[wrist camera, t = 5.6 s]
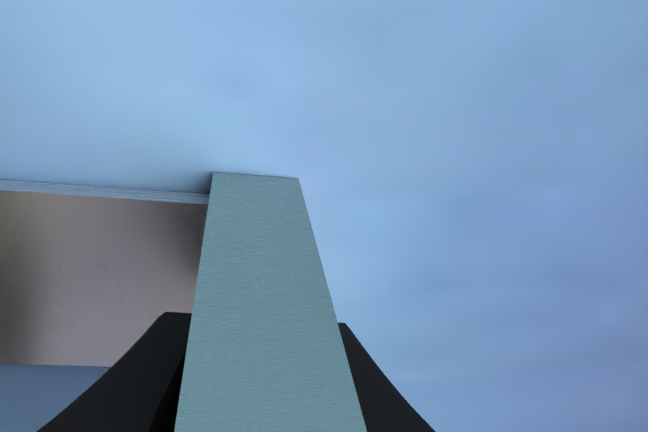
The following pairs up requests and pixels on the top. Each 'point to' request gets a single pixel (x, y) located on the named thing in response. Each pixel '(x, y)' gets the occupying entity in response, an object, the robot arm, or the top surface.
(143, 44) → the top surface
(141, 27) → the top surface
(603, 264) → the top surface
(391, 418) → the robot arm
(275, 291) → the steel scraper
